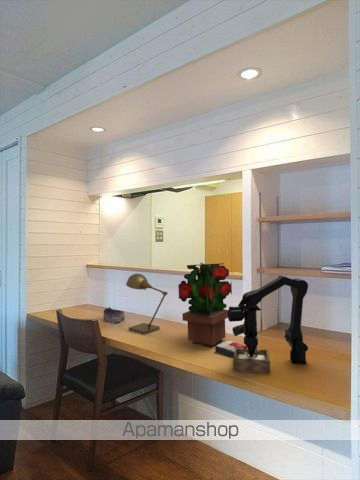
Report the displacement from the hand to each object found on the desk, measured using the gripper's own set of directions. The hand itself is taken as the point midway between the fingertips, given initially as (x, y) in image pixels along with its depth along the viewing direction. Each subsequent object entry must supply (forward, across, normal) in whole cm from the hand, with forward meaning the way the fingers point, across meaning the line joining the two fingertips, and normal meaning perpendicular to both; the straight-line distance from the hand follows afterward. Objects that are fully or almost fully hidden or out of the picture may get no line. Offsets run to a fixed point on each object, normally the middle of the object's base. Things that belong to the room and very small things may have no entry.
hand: (251, 353), depth 154 cm
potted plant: (+6, -30, -25) cm, 40 cm away
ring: (+3, 0, 0) cm, 3 cm away
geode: (+6, -69, -100) cm, 122 cm away
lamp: (+6, -46, -65) cm, 80 cm away
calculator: (+7, -16, -10) cm, 19 cm away
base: (+6, 0, 0) cm, 6 cm away
